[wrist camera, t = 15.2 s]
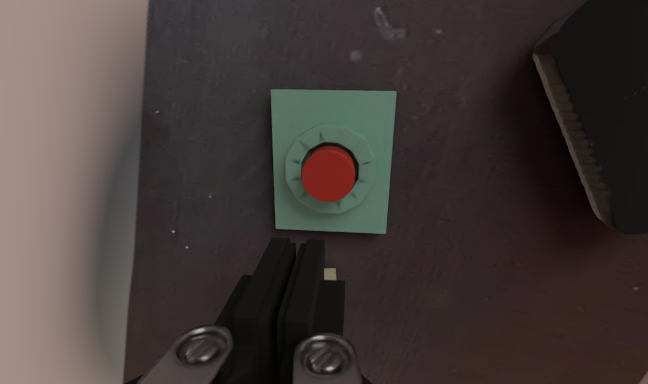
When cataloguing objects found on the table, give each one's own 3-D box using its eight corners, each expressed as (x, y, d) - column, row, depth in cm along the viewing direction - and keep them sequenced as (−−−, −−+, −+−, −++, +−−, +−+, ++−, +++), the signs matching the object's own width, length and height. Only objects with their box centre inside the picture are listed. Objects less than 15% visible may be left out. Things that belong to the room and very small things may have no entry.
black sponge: (513, 35, 24) (540, 28, 20) (645, -40, 22) (701, -62, 18) (588, 227, 27) (622, 249, 24) (706, 178, 25) (762, 194, 22)
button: (353, 194, 25) (353, 203, 24) (305, 192, 26) (301, 201, 24) (355, 146, 24) (355, 151, 22) (305, 144, 25) (301, 150, 23)
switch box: (384, 227, 29) (387, 243, 26) (278, 222, 30) (270, 237, 27) (394, 90, 25) (399, 92, 22) (274, 89, 26) (264, 90, 23)
